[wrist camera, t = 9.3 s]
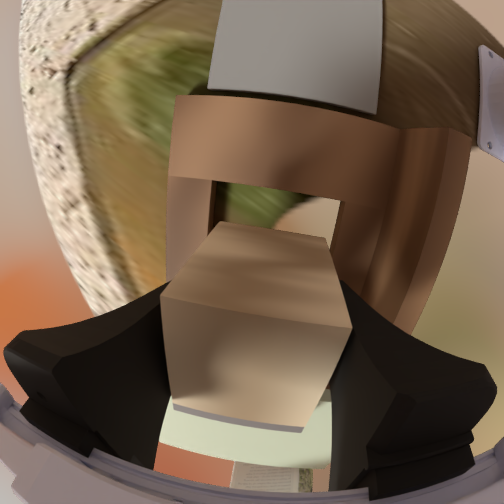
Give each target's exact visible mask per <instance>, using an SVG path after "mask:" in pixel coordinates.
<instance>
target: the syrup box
mask: <svg viewBox="0 0 504 504" xmlns="http://www.w3.org/2000/svg"><path fill="white" fill-rule="evenodd" d="M312 476H313V470H312V469H306V468H288V467H276V466H267V465H259V464H251V463H245V462H239V461H234V467H233V472H232V477H231V482H230V488H235V489H244V490H254V491H266V492H294V493H301V492H312V478H313V477H312Z"/></svg>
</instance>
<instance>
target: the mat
mask: <svg viewBox="0 0 504 504" xmlns="http://www.w3.org/2000/svg"><path fill="white" fill-rule="evenodd" d="M381 54H382V0H223V4H222V8H221V13H220V18H219V23H218V28H217V33H216V38H215V44H214V50H213V55H212V61H211V67H210V74H209V80H208V87H207V89H209V90H212V91H233V92H246V93H257V94H267V95H275V96H282V97H289V98H296V99H302V100H308V101H313V102H319V103H324V104H328V105H333V106H338V107H342V108H346V109H350V110H354V111H358V112H362V113H366V114H369V115H376V111H377V102H378V93H379V82H380V70H381Z"/></svg>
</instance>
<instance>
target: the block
mask: <svg viewBox="0 0 504 504" xmlns="http://www.w3.org/2000/svg"><path fill="white" fill-rule="evenodd" d="M160 302H161V315H162V326H163V336H164V346H165V354H166V362H167V370H168V377H169V383H170V390H171V396H172V402H173V403H174V404H178V405H181V406H185V407H189V408H192V409H196V410H200V411H204V412H209V413H213V414H218V415H223V416H227V417H233V418H238V419H244V420H250V421H256V422H263V423H270V424H278V425H287V426H298V427H305V426H306V424H307V422H308V420H309V419H310V417H311V415H312V413H313V411H314V410H315V408H316V406H317V404H318V402H319V400H320V398H321V396H322V394H323V392H324V390H325V388H326V386H327V384H328V382H329V380H330V378H331V376H332V374H333V372H334V370H335V367H336V365H337V363H338V361H339V359H340V356H341V354H342V352H343V350H344V347H345V345H346V343H347V340H348V338H349V336H350V333H351V331H352V324H351V321H350V317H349V313H348V310H347V306H346V303H345V299H344V296H343V292H342V289H341V286H340V282H339V279H338V276H337V273H336V270H335V266H334V263H333V260H332V257H331V254H330V251H329V248H328V245H327V242H326V239H325V238H322V237H316V236H310V235H304V234H299V233H292V232H287V231H280V230H274V229H268V228H262V227H255V226H249V225H242V224H236V223H229V222H222V221H220V222H219V223H218V224H217V225H216V226H215V228H214V229H213V230H212V231H211V232H210V234H209V235H208V236H207V237H206V238H205V240H204V241H203V242H202V243H201V245H200V246H199V247H198V248H197V249H196V251H195V252H194V253H193V254H192V256H191V257H190V258H189V259H188V261H187V262H186V263H185V264H184V266H183V267H182V268H181V269H180V271H179V272H178V273H177V274H176V276H175V277H174V278H173V279H172V281H171V282H170V283H169V284H168V286H167V287H166V288H165V290H164V291H163V292H162V293H161V295H160Z"/></svg>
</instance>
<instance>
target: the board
mask: <svg viewBox="0 0 504 504" xmlns="http://www.w3.org/2000/svg"><path fill="white" fill-rule="evenodd" d="M471 143H472V138H471V137H469V136H467V135H465V134H463V133H461V132H459V131H457V130H455V129H453V128H451V127H432V128H412V129H398V128H395V127H392V126H389V125H385V124H382V123H379V122H375V121H372V120H368V119H364V118H361V117H357V116H353V115H349V114H345V113H340V112H336V111H331V110H327V109H322V108H316V107H311V106H306V105H300V104H294V103H287V102H280V101H272V100H264V99H254V98H243V97H230V96H209V95H176V100H175V108H174V116H173V125H172V134H171V145H170V157H169V171H168V188H167V213H166V282H169V281H171V280H172V279H173V278H174V277H175V276H176V274H177V273H178V272H179V271H180V269H181V268H182V267H183V266H184V264H185V263H186V262H187V261H188V259H189V258H190V257H191V256H192V254H193V253H194V252H195V251H196V249H197V248H198V247H199V246H200V245H201V243H202V242H203V241H204V240H205V238H206V237H207V236H208V235H209V234H210V232H211V231H212V230H213V220H214V209H215V197H216V187H217V181H223V182H231V183H239V184H246V185H253V186H260V187H267V188H273V189H279V190H285V191H291V192H297V193H303V194H308V195H314V196H319V197H324V198H330V199H335V200H340V201H341V202H340V207H339V211H338V216H337V220H336V225H335V229H334V234H333V238H332V242H331V246H330V250H329V251H330V254H331V257H332V260H333V263H334V266H335V270H336V273H337V276H338V279H339V280H343V281H344V282H345V283H346V284H347V285H348V286H349V287H350V288H351V289H352V290H353V291H354V292H355V293H357V294H358V295H359V296H360V297H361V298H362V299H363V300H364V301H365V302H366V303H367V304H368V305H370V306H371V307H372V308H373V309H374V310H375V311H377V312H378V313H379V314H380V315H382V316H383V317H384V318H385V319H387V320H388V321H389V322H391V323H392V324H394V325H395V326H397V327H398V328H400V329H401V330H403V331H404V332H406V333H408V334H409V335H411V333H412V331H413V329H414V327H415V325H416V323H417V321H418V319H419V317H420V315H421V313H422V311H423V309H424V306H425V304H426V302H427V300H428V298H429V295H430V293H431V290H432V288H433V286H434V283H435V281H436V278H437V276H438V273H439V270H440V268H441V265H442V262H443V260H444V257H445V254H446V251H447V248H448V245H449V242H450V239H451V236H452V232H453V229H454V226H455V222H456V218H457V215H458V211H459V207H460V203H461V199H462V194H463V190H464V185H465V180H466V175H467V170H468V163H469V157H470V151H471ZM325 389H329V390H330V386H329V382H328V384H327V386H326V388H325Z"/></svg>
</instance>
